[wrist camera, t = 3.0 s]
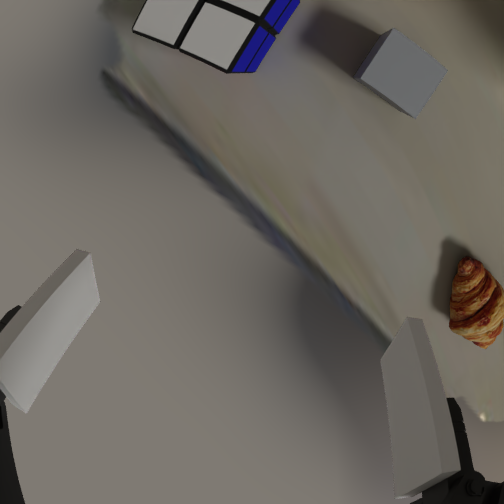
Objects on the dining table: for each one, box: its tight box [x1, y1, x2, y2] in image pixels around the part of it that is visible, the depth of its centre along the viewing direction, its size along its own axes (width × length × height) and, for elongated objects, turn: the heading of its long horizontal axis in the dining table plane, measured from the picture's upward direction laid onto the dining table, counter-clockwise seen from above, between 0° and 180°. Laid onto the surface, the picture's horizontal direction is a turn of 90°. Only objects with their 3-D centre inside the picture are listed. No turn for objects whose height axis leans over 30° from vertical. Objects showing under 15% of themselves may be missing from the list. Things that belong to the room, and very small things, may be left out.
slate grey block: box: [353, 28, 448, 119], centre depth 23 cm, size 6×6×6 cm
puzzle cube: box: [132, 0, 300, 73], centre depth 21 cm, size 10×10×10 cm
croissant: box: [449, 256, 504, 349], centre depth 35 cm, size 21×10×8 cm, turn 40°
